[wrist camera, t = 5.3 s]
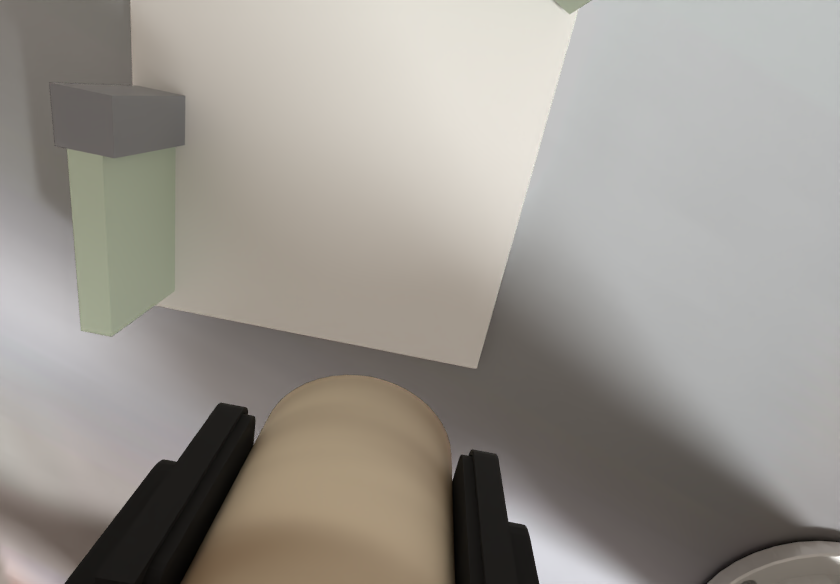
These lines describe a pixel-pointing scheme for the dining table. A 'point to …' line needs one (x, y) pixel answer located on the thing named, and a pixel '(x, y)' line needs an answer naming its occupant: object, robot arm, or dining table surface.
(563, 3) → the gate
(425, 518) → the roller
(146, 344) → the dining table surface
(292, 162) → the gate frame
